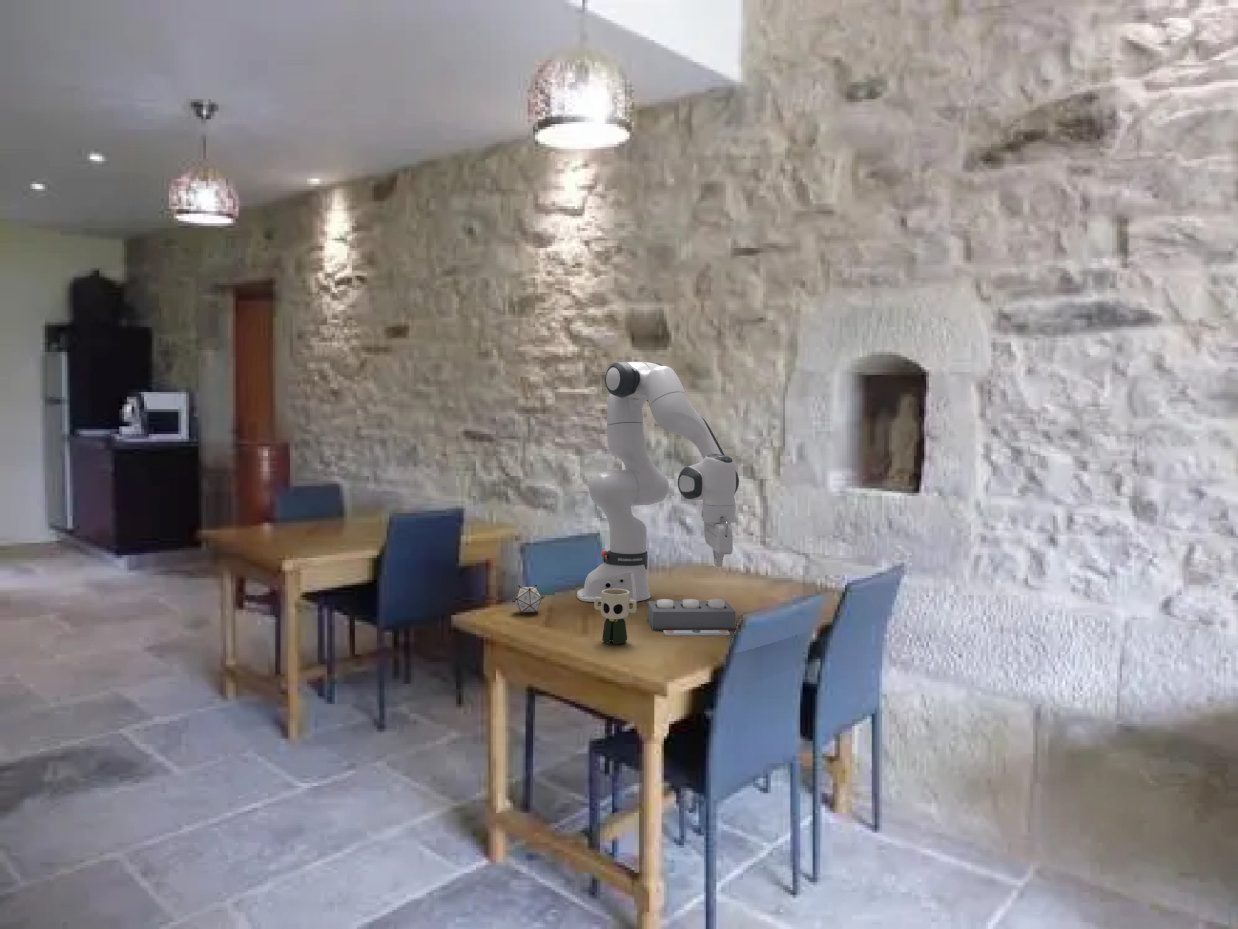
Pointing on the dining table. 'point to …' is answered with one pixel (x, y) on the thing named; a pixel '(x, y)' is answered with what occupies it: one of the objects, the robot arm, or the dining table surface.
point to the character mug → (615, 613)
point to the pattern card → (695, 632)
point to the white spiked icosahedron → (528, 599)
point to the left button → (664, 604)
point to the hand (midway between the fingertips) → (718, 565)
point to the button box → (691, 617)
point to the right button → (716, 603)
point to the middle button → (690, 603)
